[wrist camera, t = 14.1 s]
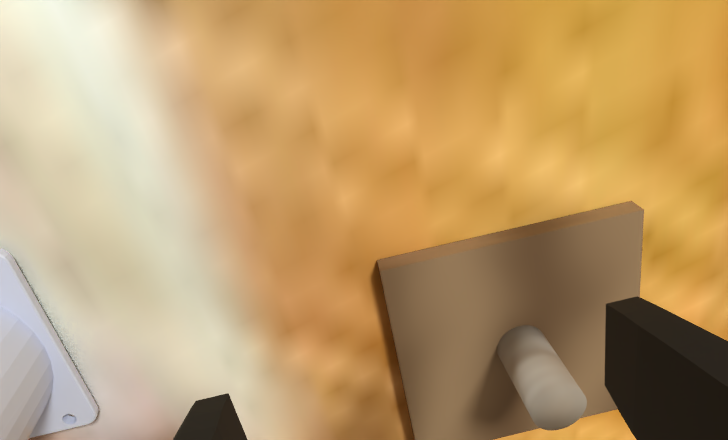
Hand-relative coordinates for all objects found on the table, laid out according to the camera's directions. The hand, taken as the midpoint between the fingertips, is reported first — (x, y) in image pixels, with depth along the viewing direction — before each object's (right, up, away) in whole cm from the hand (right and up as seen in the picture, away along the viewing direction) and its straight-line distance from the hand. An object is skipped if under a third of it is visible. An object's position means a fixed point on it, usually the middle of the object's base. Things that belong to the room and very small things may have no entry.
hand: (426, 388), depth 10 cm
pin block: (+5, -2, +13) cm, 14 cm away
